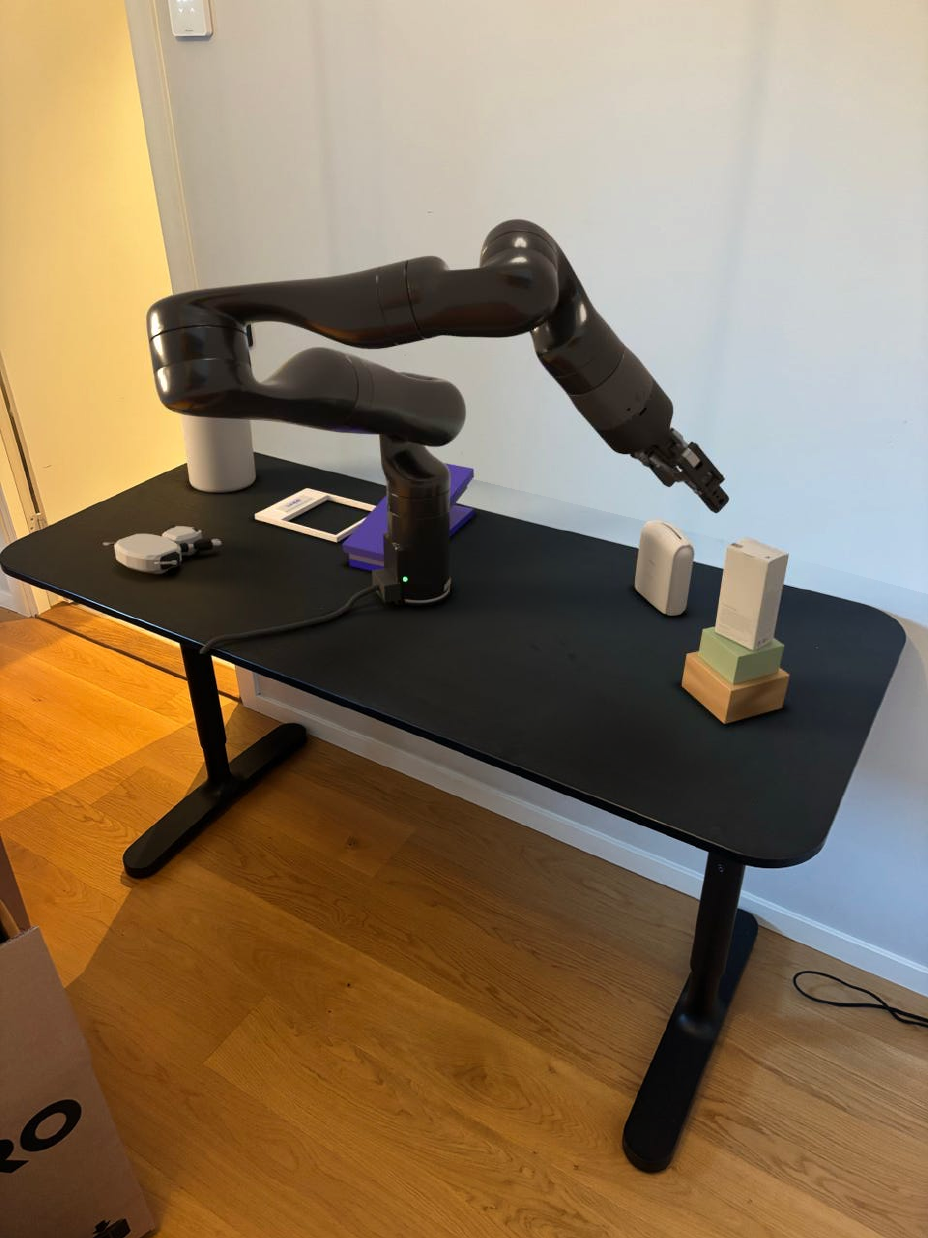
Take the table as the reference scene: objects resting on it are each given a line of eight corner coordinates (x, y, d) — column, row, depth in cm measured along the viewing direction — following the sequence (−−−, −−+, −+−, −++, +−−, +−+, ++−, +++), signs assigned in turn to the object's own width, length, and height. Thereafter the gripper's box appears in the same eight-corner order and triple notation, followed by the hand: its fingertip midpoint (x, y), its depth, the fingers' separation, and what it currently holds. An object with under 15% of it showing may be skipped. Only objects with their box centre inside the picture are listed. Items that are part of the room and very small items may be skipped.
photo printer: (629, 587, 142) (639, 514, 136) (653, 583, 143) (664, 511, 137) (664, 619, 134) (675, 543, 127) (689, 614, 135) (701, 538, 129)
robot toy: (176, 540, 155) (102, 566, 144) (174, 515, 153) (98, 540, 142) (227, 558, 150) (154, 587, 138) (226, 533, 148) (152, 560, 136)
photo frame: (306, 487, 172) (385, 507, 164) (307, 492, 172) (385, 513, 165) (254, 513, 161) (336, 536, 153) (255, 519, 161) (336, 542, 154)
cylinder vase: (224, 499, 169) (208, 364, 157) (176, 485, 175) (156, 353, 162) (269, 478, 179) (257, 349, 166) (222, 465, 184) (207, 340, 171)
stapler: (476, 515, 165) (478, 464, 160) (406, 580, 142) (405, 523, 138) (419, 504, 169) (419, 454, 164) (342, 566, 146) (339, 509, 141)
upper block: (732, 684, 110) (738, 657, 108) (697, 655, 116) (702, 629, 114) (778, 672, 113) (784, 645, 111) (742, 645, 118) (747, 618, 116)
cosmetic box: (774, 641, 111) (793, 552, 105) (752, 653, 109) (771, 563, 103) (732, 621, 115) (749, 534, 109) (710, 632, 113) (726, 544, 107)
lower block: (724, 724, 111) (731, 690, 109) (681, 685, 119) (686, 653, 116) (782, 708, 115) (790, 675, 112) (736, 671, 122) (743, 639, 119)
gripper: (557, 407, 96) (637, 497, 105) (631, 446, 84) (714, 542, 94) (605, 353, 95) (681, 448, 105) (686, 384, 84) (764, 487, 93)
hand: (697, 492), depth 99 cm, fingers open, 8 cm apart
